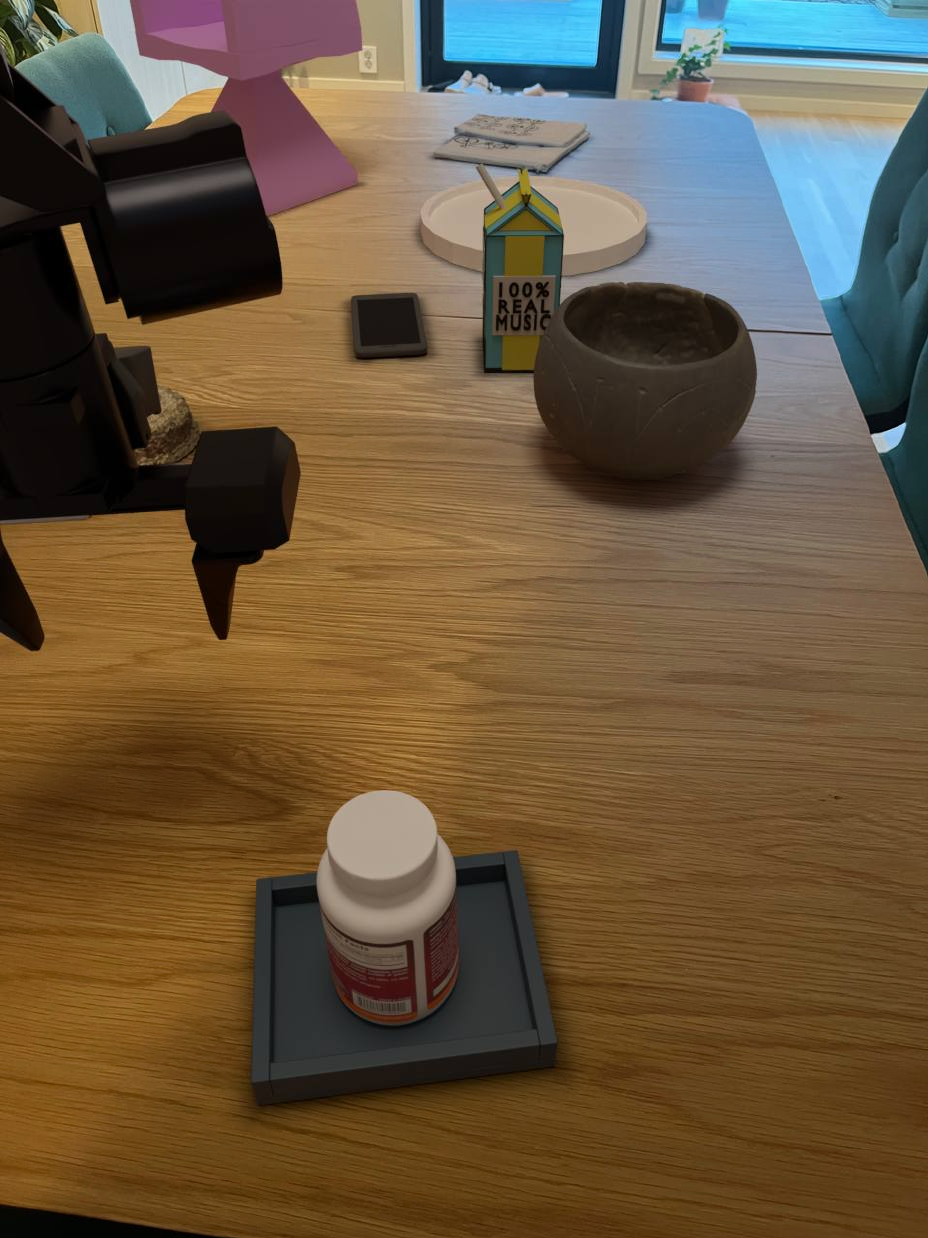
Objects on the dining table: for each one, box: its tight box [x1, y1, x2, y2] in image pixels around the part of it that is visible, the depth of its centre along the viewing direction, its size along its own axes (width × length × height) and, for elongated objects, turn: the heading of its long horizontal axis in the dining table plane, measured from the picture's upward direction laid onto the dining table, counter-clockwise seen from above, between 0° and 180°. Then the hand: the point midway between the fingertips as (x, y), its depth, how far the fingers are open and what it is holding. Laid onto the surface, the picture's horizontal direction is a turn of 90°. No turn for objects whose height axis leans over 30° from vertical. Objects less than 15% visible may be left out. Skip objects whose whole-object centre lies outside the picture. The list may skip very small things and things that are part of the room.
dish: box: [250, 849, 558, 1106], centre depth 50 cm, size 14×11×2 cm
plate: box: [419, 175, 648, 277], centre depth 126 cm, size 28×28×2 cm
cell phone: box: [350, 292, 428, 359], centre depth 106 cm, size 7×14×1 cm, turn 6°
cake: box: [134, 384, 201, 465], centre depth 87 cm, size 10×10×5 cm
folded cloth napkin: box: [433, 113, 591, 173], centre depth 153 cm, size 19×20×2 cm
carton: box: [475, 163, 564, 374], centre depth 96 cm, size 7×8×18 cm
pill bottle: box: [316, 789, 459, 1026], centre depth 46 cm, size 6×6×11 cm
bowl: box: [533, 281, 758, 481], centre depth 83 cm, size 18×18×13 cm
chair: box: [129, 0, 363, 217], centre depth 131 cm, size 20×20×30 cm
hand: (131, 639), depth 50 cm, fingers open, 9 cm apart
